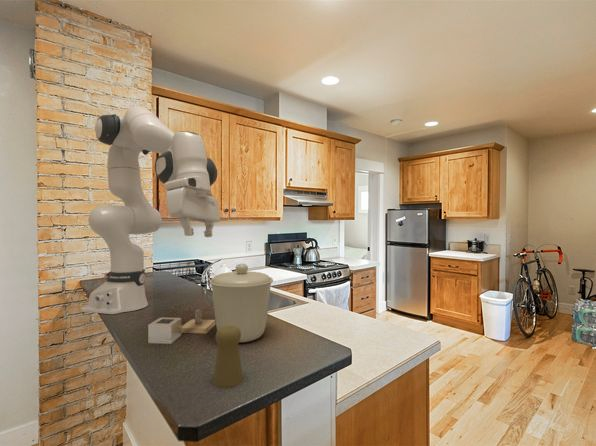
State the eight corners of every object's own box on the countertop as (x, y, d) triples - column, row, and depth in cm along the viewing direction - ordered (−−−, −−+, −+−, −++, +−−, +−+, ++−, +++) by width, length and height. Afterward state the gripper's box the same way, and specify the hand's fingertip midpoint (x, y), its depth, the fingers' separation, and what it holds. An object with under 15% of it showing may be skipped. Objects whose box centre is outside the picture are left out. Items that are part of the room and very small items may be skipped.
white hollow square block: (148, 343, 84) (148, 324, 84) (160, 334, 91) (160, 317, 91) (171, 343, 84) (171, 325, 84) (181, 335, 90) (181, 318, 90)
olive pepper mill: (232, 390, 61) (232, 334, 61) (207, 384, 63) (207, 330, 63) (248, 376, 67) (248, 325, 66) (224, 370, 69) (224, 321, 69)
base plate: (180, 332, 92) (180, 312, 92) (190, 323, 100) (191, 305, 100) (206, 333, 92) (206, 313, 92) (215, 324, 100) (215, 305, 100)
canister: (198, 334, 91) (199, 262, 91) (251, 322, 102) (252, 258, 102) (227, 355, 77) (228, 270, 77) (285, 338, 88) (285, 264, 88)
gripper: (204, 195, 97) (209, 239, 95) (159, 182, 77) (165, 236, 76) (222, 191, 96) (227, 236, 94) (181, 176, 76) (187, 232, 74)
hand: (199, 236), depth 84 cm, fingers open, 8 cm apart
